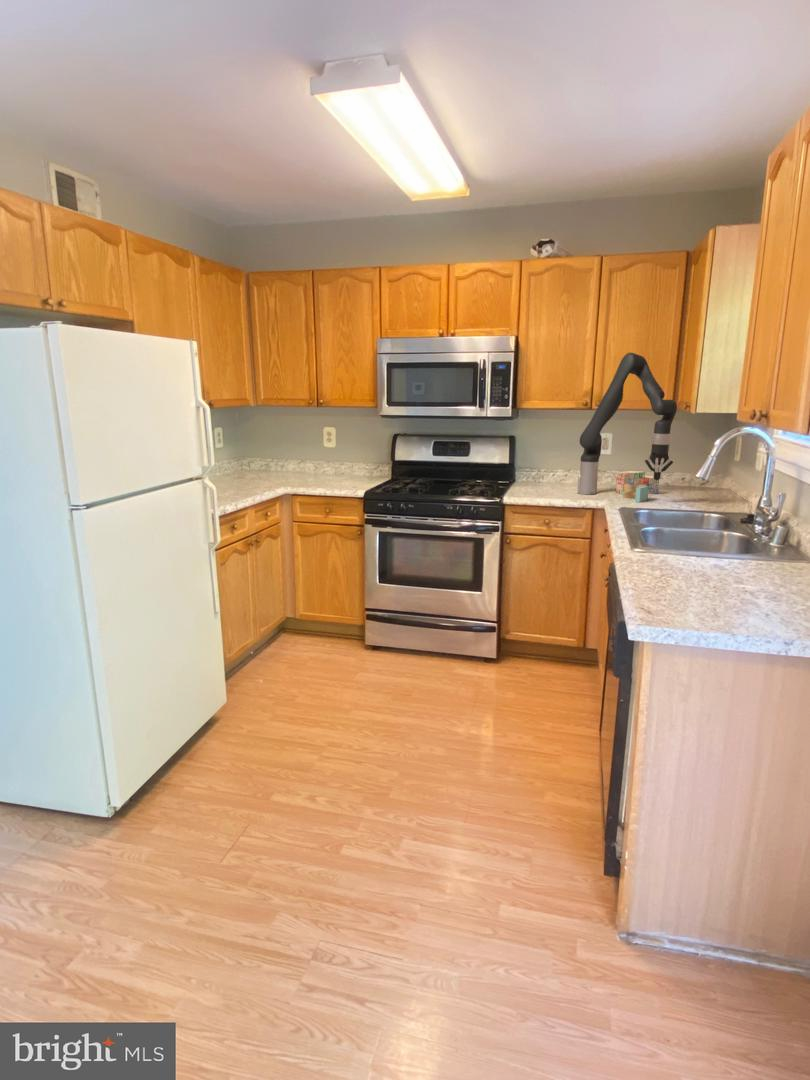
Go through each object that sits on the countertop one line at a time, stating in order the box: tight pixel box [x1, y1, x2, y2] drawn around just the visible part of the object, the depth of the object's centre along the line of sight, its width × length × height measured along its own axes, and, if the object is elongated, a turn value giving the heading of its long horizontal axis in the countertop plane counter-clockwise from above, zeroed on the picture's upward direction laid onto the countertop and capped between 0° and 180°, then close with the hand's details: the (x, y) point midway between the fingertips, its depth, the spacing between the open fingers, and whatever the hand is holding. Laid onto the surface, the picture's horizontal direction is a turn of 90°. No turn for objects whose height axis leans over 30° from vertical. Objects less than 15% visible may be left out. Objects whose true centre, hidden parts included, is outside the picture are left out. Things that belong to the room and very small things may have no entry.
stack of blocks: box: [615, 470, 660, 496], centre depth 315 cm, size 21×6×12 cm, turn 104°
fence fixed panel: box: [622, 484, 649, 501], centre depth 298 cm, size 12×2×8 cm, turn 55°
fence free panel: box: [634, 486, 649, 503], centre depth 291 cm, size 10×2×7 cm, turn 138°
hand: (656, 480), depth 284 cm, fingers closed
